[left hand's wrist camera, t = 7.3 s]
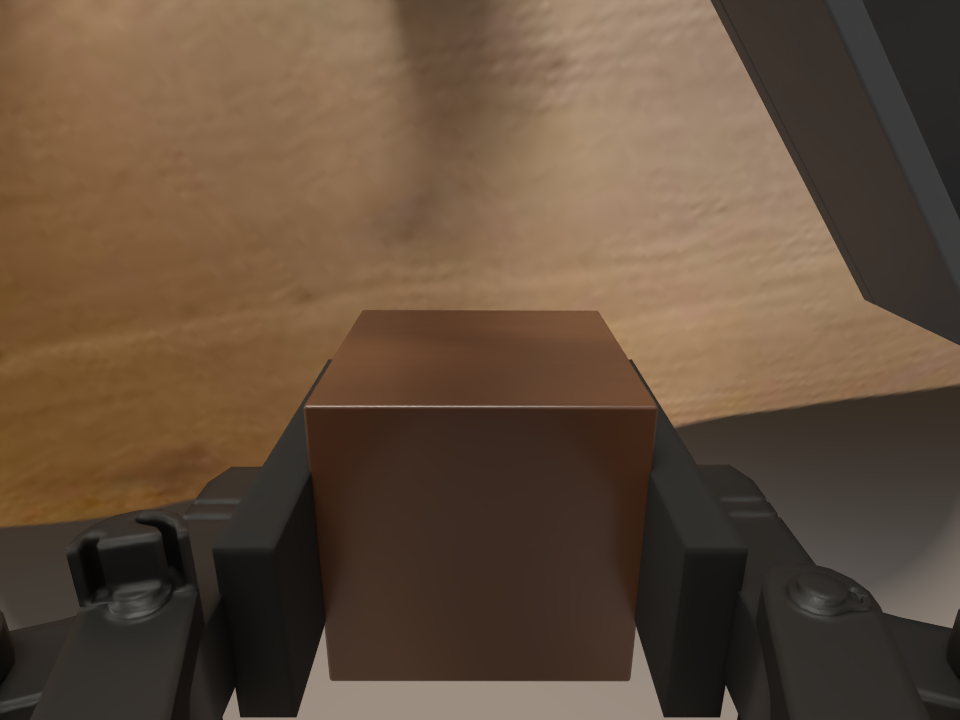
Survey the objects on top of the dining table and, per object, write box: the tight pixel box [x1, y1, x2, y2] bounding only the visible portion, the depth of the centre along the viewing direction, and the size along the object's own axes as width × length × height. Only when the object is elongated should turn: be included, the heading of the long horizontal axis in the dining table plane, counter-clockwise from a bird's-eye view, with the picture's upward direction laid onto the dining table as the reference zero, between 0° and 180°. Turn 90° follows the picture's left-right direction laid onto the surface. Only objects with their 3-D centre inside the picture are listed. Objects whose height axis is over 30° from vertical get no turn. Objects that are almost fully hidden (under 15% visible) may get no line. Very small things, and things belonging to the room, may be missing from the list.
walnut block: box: [303, 310, 658, 681], centre depth 12 cm, size 5×5×5 cm
